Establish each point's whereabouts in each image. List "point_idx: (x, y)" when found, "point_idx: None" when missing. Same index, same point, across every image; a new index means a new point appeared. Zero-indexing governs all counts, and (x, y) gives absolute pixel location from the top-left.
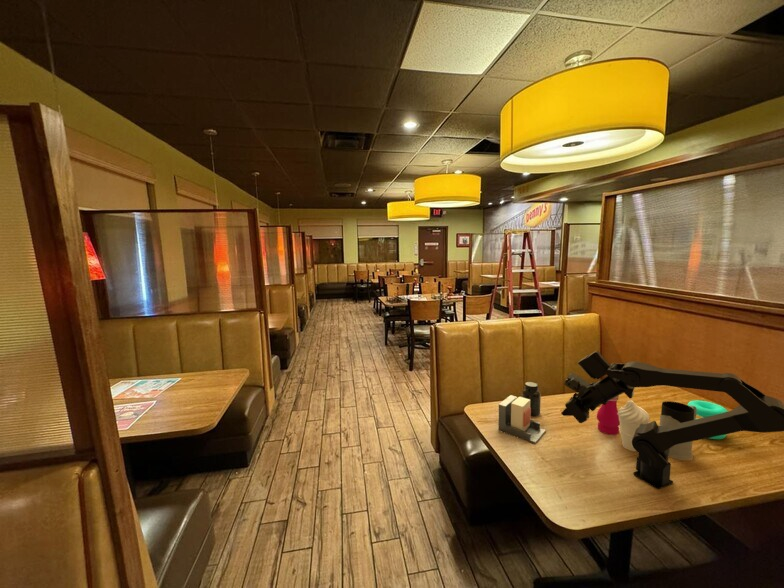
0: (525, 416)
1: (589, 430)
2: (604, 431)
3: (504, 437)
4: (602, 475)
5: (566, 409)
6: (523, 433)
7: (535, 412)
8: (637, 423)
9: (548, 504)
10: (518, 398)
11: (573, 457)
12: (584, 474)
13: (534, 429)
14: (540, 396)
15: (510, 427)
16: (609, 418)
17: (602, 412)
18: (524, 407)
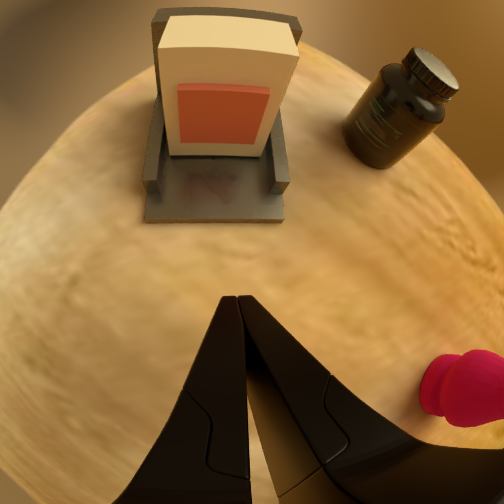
0: (181, 105)
1: (410, 348)
2: (424, 389)
3: (129, 125)
4: (133, 474)
5: (189, 378)
6: (146, 159)
7: (367, 149)
8: None
9: None
10: (259, 21)
11: (162, 381)
12: (89, 429)
13: (250, 180)
14: (429, 127)
15: (154, 109)
16: (464, 411)
17: (482, 384)
18: (191, 60)
